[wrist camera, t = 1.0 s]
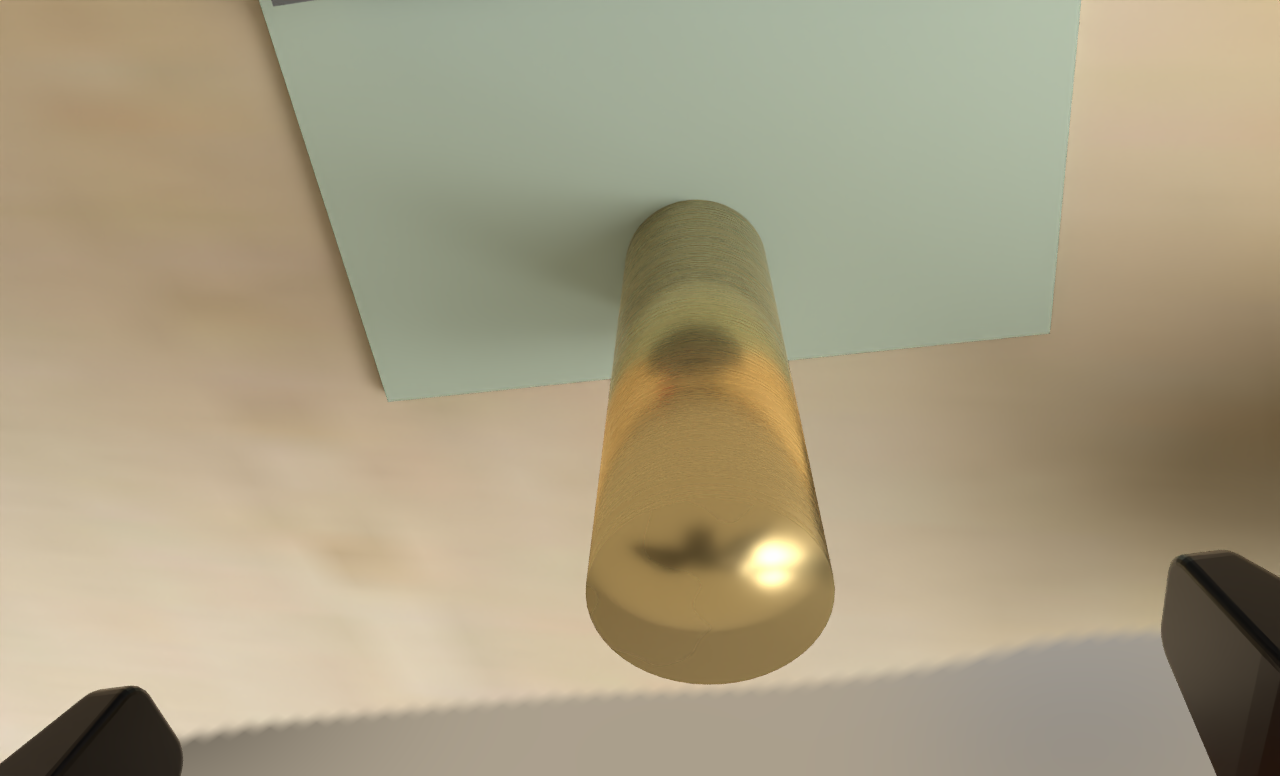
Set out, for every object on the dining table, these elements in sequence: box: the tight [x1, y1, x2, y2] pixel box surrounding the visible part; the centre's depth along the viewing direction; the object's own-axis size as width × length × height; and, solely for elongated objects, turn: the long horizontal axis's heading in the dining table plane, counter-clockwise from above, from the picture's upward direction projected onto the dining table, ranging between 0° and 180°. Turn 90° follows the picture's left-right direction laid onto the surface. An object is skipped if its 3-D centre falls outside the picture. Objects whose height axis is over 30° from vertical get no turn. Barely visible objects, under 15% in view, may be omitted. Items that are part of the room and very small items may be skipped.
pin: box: [586, 200, 835, 684], centre depth 16 cm, size 3×3×10 cm
